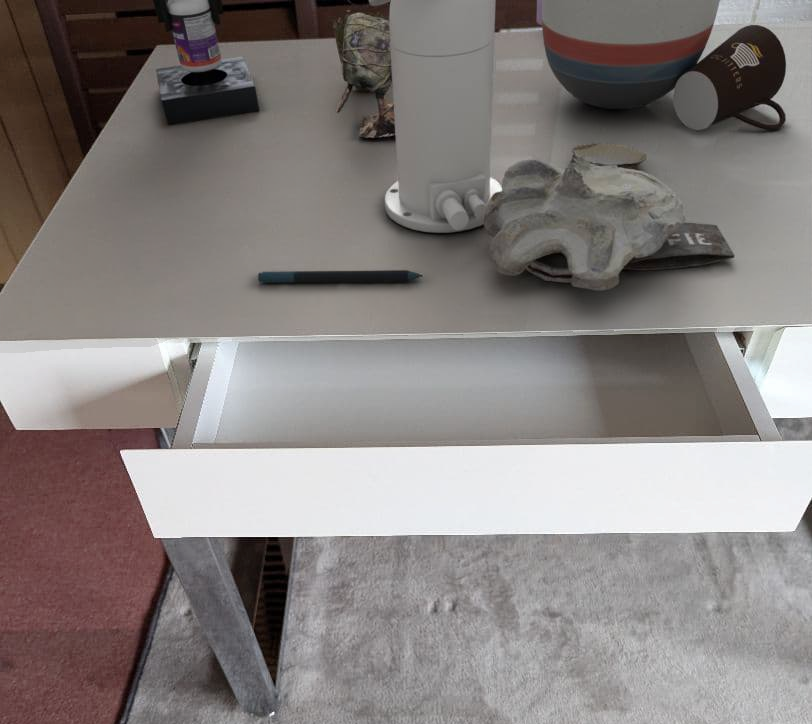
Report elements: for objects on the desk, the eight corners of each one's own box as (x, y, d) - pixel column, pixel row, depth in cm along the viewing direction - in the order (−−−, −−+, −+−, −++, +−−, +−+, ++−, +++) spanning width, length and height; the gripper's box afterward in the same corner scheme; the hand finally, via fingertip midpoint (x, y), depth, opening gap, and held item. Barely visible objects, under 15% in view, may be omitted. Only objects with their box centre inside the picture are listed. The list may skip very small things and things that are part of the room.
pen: (423, 280, 75) (423, 269, 75) (422, 282, 74) (422, 271, 74) (260, 281, 76) (259, 270, 76) (258, 283, 76) (256, 272, 75)
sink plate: (259, 110, 104) (255, 85, 102) (167, 125, 103) (161, 100, 101) (247, 79, 112) (243, 56, 110) (162, 92, 111) (155, 68, 108)
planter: (625, 148, 91) (660, -86, 75) (501, 101, 102) (508, -112, 86) (734, 97, 99) (787, -125, 83) (607, 59, 110) (633, -144, 94)
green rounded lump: (397, 77, 110) (393, 10, 104) (391, 98, 105) (387, 28, 99) (343, 78, 111) (337, 12, 105) (335, 99, 106) (328, 30, 100)
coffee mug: (671, 50, 90) (731, 15, 93) (661, 125, 97) (717, 90, 100) (756, 83, 84) (818, 45, 87) (739, 160, 91) (796, 123, 94)
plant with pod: (353, 112, 102) (335, -81, 87) (438, 118, 100) (433, -80, 85) (330, 138, 97) (306, -62, 82) (418, 145, 95) (410, -61, 80)
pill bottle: (176, 63, 105) (155, -24, 98) (215, 55, 107) (197, -32, 99) (186, 76, 102) (165, -14, 95) (227, 67, 103) (209, -22, 96)
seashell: (645, 180, 90) (587, 147, 92) (658, 153, 87) (598, 120, 89) (613, 197, 84) (552, 161, 87) (626, 169, 82) (563, 133, 84)
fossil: (710, 169, 72) (653, 144, 61) (684, 296, 76) (626, 295, 65) (537, 164, 82) (460, 141, 70) (522, 277, 85) (446, 273, 74)
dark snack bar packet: (737, 272, 73) (742, 252, 71) (528, 290, 73) (529, 271, 72) (712, 229, 78) (716, 209, 76) (516, 246, 78) (517, 227, 77)
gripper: (70, -151, 84) (125, 44, 97) (232, -168, 86) (263, 24, 99) (71, -161, 88) (123, 25, 102) (225, -177, 91) (255, 7, 104)
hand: (192, 23), depth 101 cm, fingers closed on pill bottle, 5 cm apart
